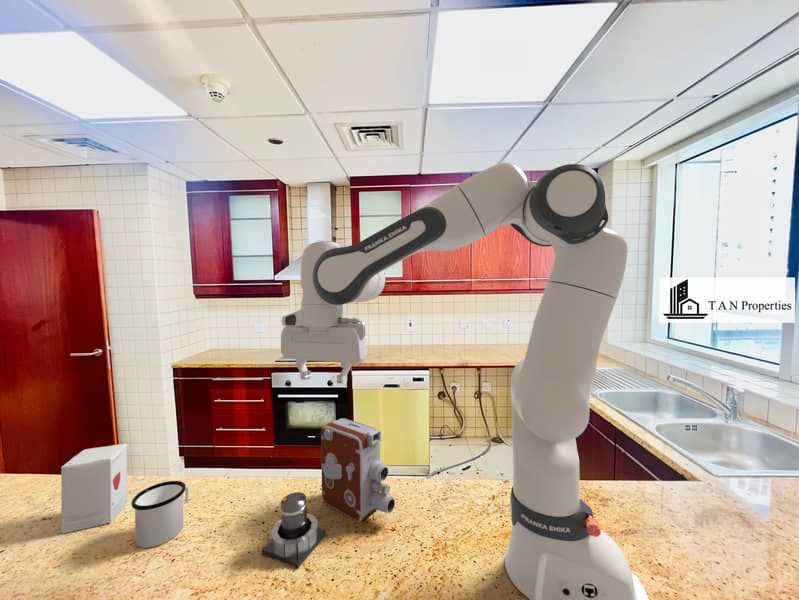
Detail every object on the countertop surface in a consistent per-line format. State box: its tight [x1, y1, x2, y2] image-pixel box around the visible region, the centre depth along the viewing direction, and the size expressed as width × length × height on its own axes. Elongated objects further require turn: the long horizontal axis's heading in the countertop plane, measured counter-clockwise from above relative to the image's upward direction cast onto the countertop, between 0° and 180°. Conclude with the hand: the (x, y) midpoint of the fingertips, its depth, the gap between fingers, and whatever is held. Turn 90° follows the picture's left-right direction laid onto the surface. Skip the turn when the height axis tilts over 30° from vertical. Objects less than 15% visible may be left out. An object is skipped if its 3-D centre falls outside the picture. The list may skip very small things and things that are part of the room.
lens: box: [280, 491, 308, 540], centre depth 66 cm, size 5×5×8 cm
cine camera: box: [320, 417, 396, 523], centre depth 76 cm, size 9×19×20 cm, turn 53°
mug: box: [130, 480, 190, 549], centre depth 70 cm, size 12×10×9 cm
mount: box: [261, 512, 327, 569], centre depth 65 cm, size 9×9×4 cm
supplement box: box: [60, 443, 128, 534], centre depth 75 cm, size 9×9×15 cm
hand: (323, 381), depth 68 cm, fingers open, 8 cm apart
